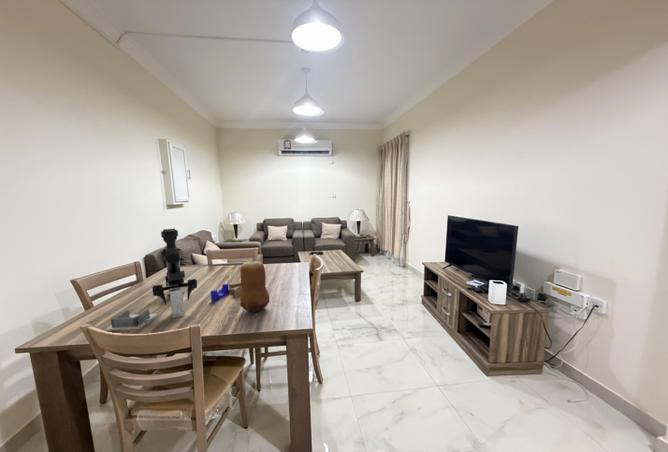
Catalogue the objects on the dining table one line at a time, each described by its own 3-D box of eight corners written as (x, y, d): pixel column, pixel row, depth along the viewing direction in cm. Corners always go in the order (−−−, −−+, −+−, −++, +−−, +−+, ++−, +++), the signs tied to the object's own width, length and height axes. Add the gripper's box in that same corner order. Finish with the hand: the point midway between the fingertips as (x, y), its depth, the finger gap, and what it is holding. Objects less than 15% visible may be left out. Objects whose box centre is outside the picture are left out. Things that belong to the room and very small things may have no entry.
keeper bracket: (128, 316, 127) (127, 307, 126) (157, 315, 127) (157, 306, 127) (106, 330, 114) (105, 320, 113) (139, 328, 115) (138, 319, 114)
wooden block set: (227, 281, 161) (256, 276, 170) (227, 290, 161) (257, 284, 171) (232, 289, 146) (264, 283, 156) (233, 299, 147) (265, 292, 156)
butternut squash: (261, 302, 140) (258, 256, 138) (274, 310, 131) (272, 261, 128) (236, 311, 131) (232, 262, 128) (248, 319, 121) (245, 266, 118)
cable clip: (222, 293, 156) (221, 283, 155) (228, 293, 155) (228, 283, 154) (209, 301, 144) (208, 290, 143) (216, 301, 143) (215, 291, 143)
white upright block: (172, 314, 128) (169, 288, 127) (183, 311, 131) (181, 286, 130) (172, 318, 124) (169, 291, 123) (184, 315, 127) (182, 289, 125)
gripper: (150, 269, 123) (151, 299, 115) (195, 263, 133) (199, 290, 125) (152, 281, 131) (154, 310, 123) (194, 274, 141) (198, 300, 133)
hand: (177, 302), depth 126 cm, fingers open, 9 cm apart
